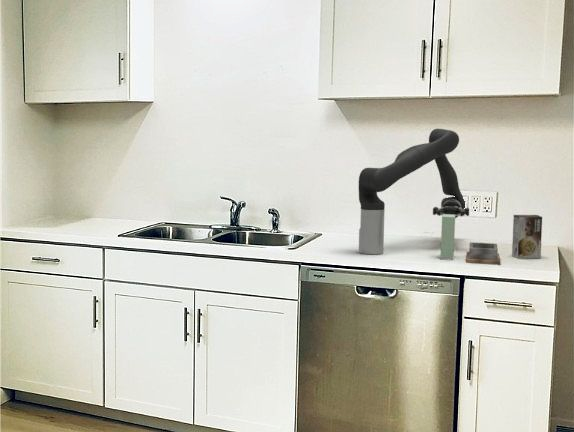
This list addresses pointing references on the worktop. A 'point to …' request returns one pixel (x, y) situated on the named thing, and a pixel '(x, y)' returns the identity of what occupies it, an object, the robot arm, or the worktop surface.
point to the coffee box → (527, 236)
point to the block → (447, 236)
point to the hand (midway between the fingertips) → (450, 213)
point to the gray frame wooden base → (483, 253)
